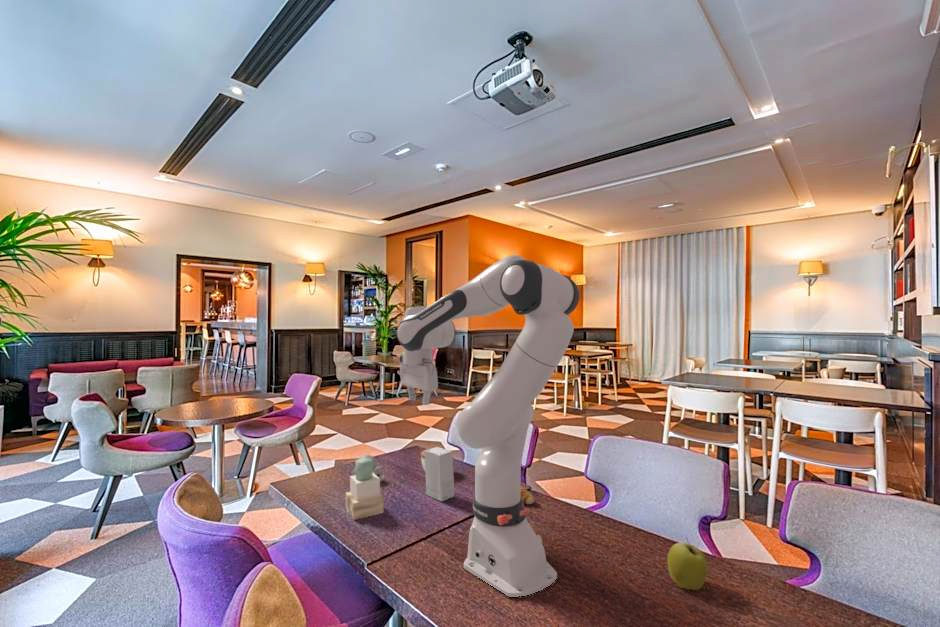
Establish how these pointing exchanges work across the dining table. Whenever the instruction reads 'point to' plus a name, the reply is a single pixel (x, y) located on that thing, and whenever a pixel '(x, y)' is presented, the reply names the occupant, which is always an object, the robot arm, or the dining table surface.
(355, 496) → the tower top
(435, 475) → the skincare box
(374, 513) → the tower base
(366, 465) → the sage green capsule
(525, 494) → the croissant
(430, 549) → the dining table surface
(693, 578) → the apple
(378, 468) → the round bodied animal figurine
